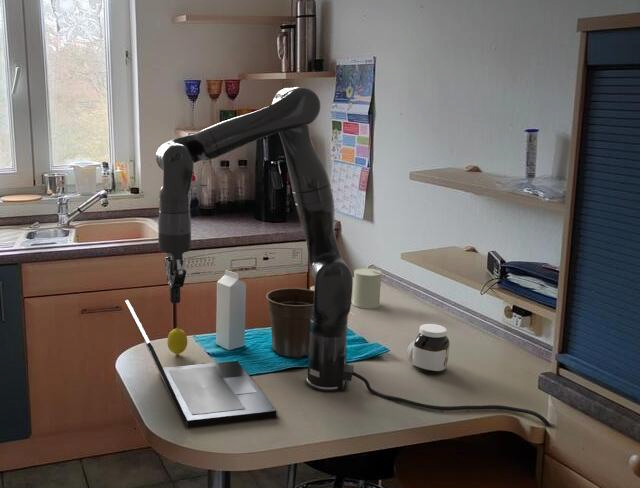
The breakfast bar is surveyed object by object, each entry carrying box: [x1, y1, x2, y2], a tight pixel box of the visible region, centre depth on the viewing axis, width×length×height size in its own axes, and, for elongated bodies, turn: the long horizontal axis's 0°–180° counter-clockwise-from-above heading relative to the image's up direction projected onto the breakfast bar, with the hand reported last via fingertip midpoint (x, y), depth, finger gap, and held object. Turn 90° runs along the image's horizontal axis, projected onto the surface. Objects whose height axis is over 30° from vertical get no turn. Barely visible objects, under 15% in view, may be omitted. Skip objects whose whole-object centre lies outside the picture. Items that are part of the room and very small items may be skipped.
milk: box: [215, 269, 247, 351], centre depth 210 cm, size 6×6×22 cm
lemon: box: [166, 327, 188, 356], centre depth 204 cm, size 6×6×8 cm
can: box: [351, 267, 383, 310], centre depth 249 cm, size 9×9×12 cm
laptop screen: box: [124, 299, 187, 423], centre depth 174 cm, size 21×30×1 cm
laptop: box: [163, 360, 278, 429], centre depth 180 cm, size 21×30×2 cm
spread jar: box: [406, 323, 450, 375], centre depth 198 cm, size 12×11×12 cm
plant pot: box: [265, 287, 314, 358], centre depth 208 cm, size 16×16×16 cm
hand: (174, 302), depth 173 cm, fingers closed
